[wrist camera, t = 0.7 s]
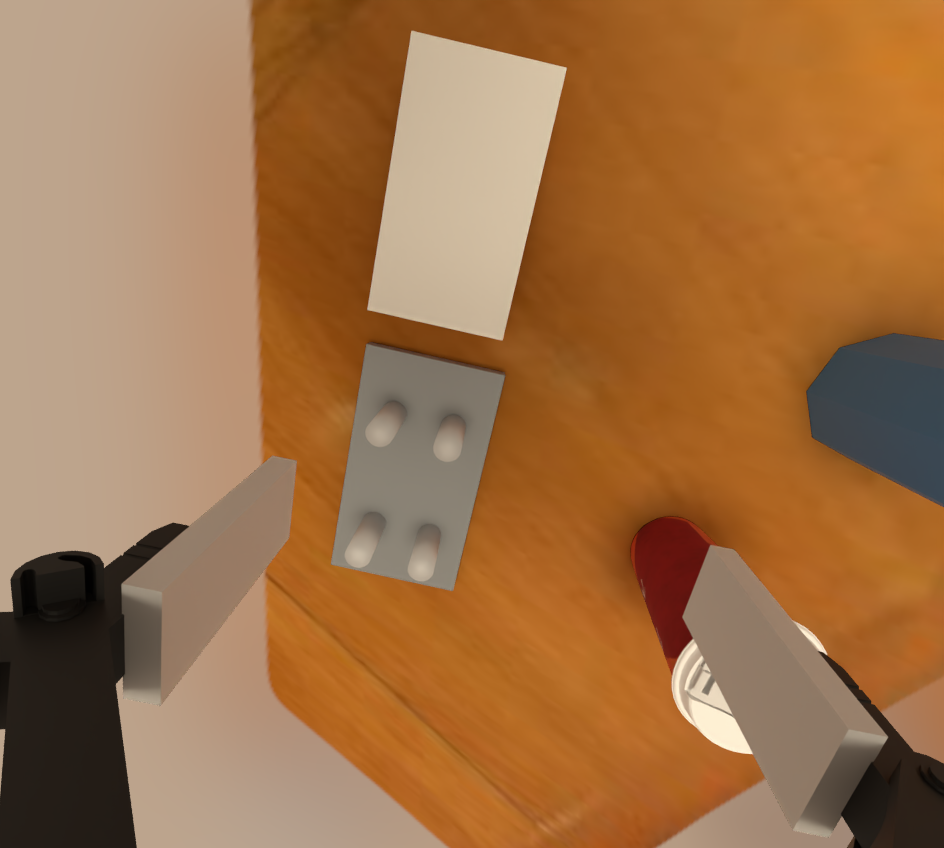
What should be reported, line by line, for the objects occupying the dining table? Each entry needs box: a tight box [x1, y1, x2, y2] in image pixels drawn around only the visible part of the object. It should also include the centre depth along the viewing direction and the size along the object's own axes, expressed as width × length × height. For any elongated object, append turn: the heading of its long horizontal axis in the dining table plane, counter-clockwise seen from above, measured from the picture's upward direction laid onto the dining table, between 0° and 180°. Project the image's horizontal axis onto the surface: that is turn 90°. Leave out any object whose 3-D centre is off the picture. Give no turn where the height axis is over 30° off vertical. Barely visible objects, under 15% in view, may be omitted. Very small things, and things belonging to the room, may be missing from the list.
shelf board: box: [367, 31, 567, 340], centre depth 29 cm, size 14×8×3 cm, turn 168°
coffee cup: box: [631, 517, 827, 754], centre depth 33 cm, size 8×8×15 cm
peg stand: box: [331, 342, 505, 591], centre depth 37 cm, size 18×10×6 cm, turn 168°
